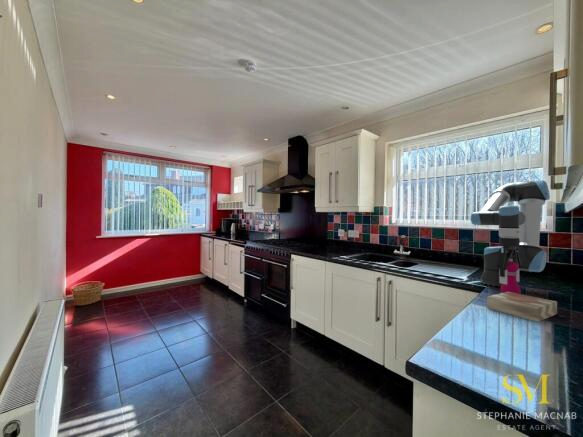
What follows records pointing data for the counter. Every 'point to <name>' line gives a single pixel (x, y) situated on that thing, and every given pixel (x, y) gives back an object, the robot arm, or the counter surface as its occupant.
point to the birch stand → (522, 305)
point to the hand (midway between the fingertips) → (509, 282)
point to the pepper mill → (511, 278)
